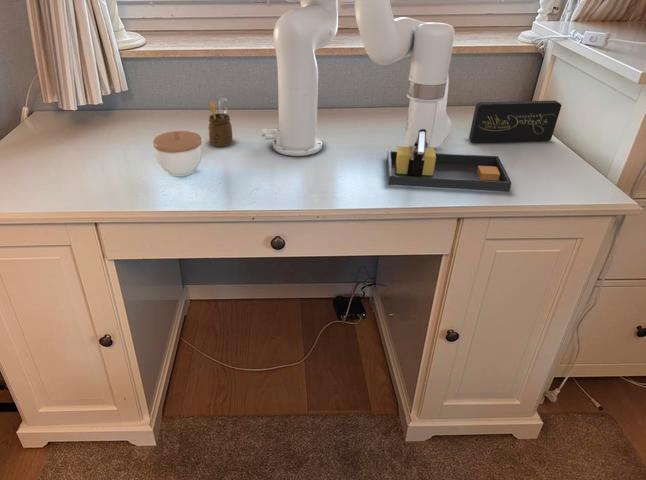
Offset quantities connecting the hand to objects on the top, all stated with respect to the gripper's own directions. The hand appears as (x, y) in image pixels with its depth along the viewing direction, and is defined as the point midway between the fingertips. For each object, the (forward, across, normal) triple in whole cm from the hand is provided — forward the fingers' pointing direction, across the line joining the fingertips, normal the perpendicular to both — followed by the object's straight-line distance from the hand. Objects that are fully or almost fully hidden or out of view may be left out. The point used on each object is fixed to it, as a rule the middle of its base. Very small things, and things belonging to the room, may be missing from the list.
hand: (413, 170), depth 116 cm
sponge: (0, 0, 0) cm, 0 cm away
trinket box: (+1, +5, -53) cm, 53 cm away
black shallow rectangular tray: (+1, 0, +7) cm, 7 cm away
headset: (+1, -25, +6) cm, 26 cm away
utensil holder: (+1, -13, -48) cm, 50 cm away
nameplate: (+1, -24, +26) cm, 35 cm away
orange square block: (0, 0, +16) cm, 16 cm away
